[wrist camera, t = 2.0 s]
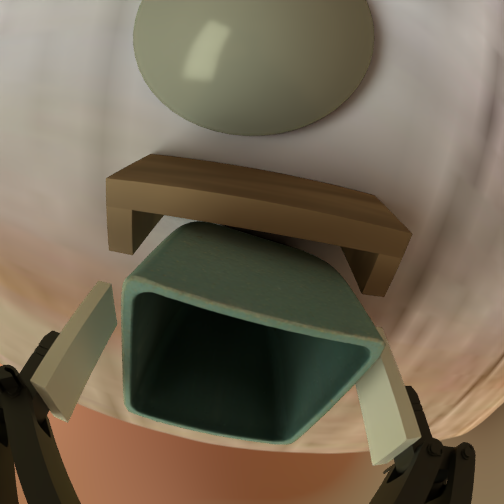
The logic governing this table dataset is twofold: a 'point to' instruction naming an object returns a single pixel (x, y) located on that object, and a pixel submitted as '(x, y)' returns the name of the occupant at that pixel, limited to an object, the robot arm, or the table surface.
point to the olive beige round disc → (253, 59)
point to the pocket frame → (256, 210)
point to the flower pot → (240, 336)
